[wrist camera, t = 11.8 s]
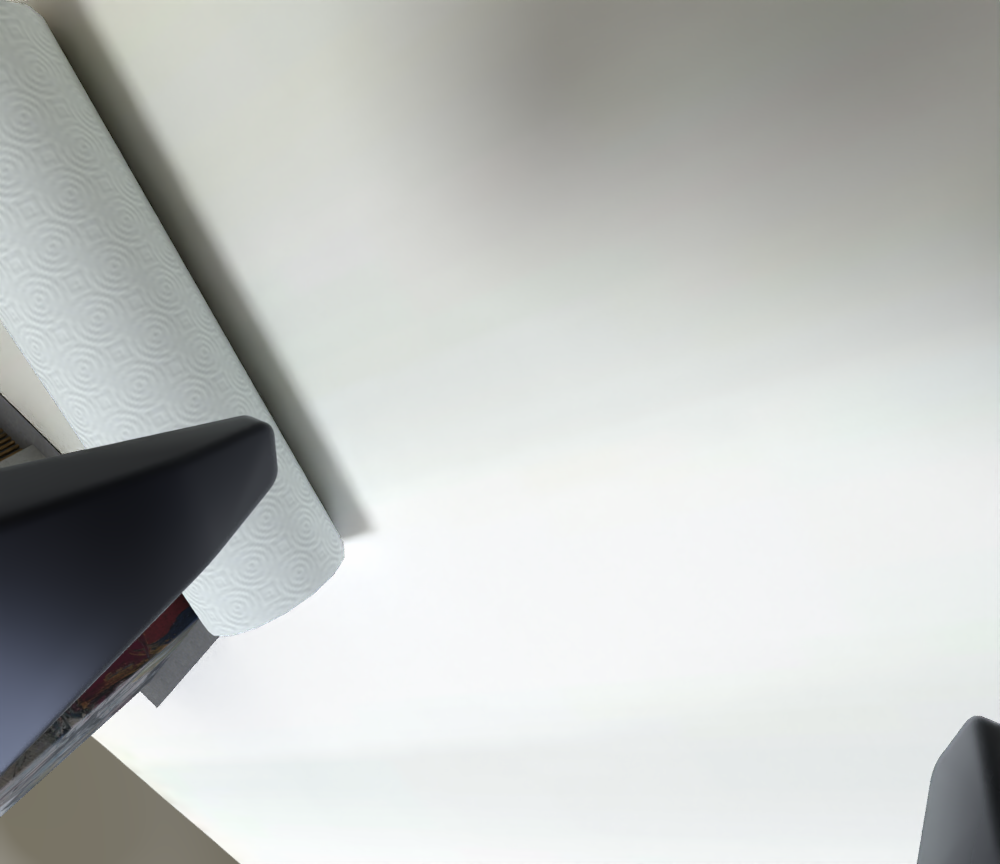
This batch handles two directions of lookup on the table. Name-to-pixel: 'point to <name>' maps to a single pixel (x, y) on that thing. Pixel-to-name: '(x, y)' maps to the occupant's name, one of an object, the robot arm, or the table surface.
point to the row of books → (139, 668)
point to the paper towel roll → (131, 322)
